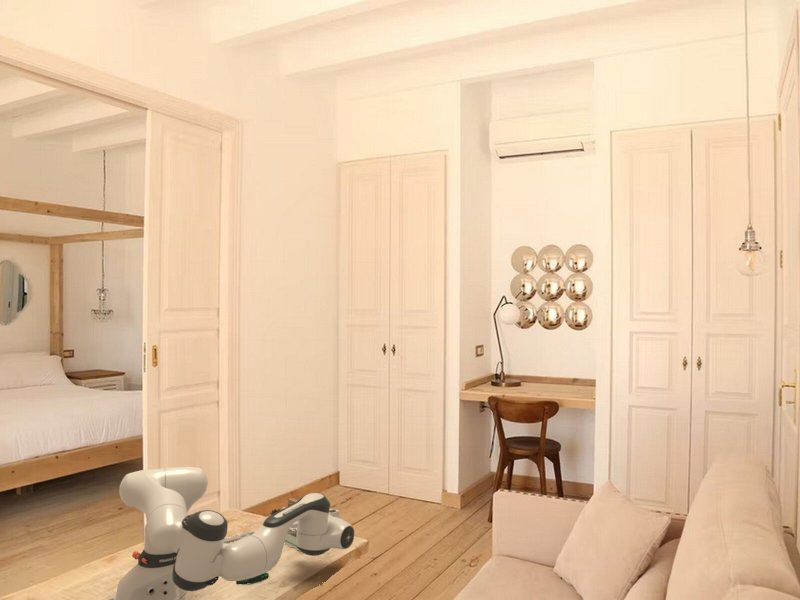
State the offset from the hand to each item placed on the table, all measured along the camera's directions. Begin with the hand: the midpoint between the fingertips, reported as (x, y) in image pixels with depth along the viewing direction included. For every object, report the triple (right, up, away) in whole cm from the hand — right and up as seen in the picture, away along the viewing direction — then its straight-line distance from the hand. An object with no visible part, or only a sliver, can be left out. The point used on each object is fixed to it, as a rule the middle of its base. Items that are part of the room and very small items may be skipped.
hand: (295, 514), depth 227 cm
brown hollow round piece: (-11, -17, +31) cm, 37 cm away
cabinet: (+1, -17, +20) cm, 26 cm away
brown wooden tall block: (+1, -7, -1) cm, 7 cm away
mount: (-12, -17, -15) cm, 25 cm away
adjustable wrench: (-29, -17, +19) cm, 38 cm away
